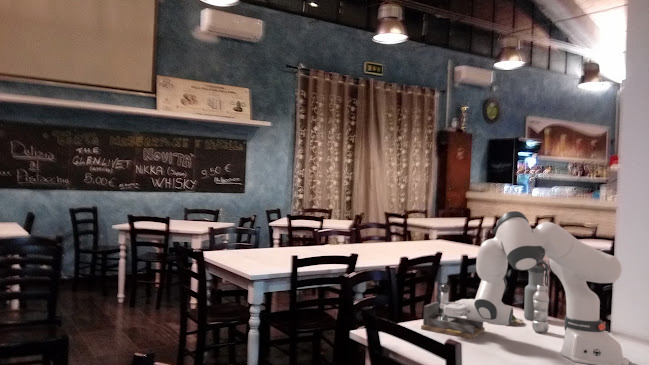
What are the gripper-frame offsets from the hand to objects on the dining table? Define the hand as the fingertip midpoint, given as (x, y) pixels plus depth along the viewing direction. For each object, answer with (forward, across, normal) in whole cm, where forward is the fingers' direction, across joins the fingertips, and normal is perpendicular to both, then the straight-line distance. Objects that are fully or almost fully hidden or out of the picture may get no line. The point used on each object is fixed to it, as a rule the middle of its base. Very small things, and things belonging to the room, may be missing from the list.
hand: (442, 304), depth 235 cm
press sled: (-1, 0, -8) cm, 8 cm away
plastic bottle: (-35, +23, -10) cm, 43 cm away
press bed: (-5, 0, -10) cm, 11 cm away
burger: (-20, +30, -10) cm, 38 cm away
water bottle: (-27, +46, -10) cm, 54 cm away
